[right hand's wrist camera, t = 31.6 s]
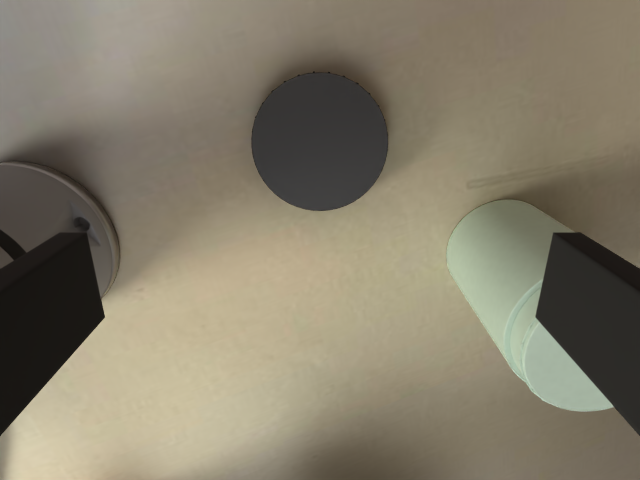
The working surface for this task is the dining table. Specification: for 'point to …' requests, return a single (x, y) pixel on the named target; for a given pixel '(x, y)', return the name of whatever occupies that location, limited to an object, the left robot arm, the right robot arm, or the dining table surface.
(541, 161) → the dining table surface
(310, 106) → the lid
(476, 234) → the jar
